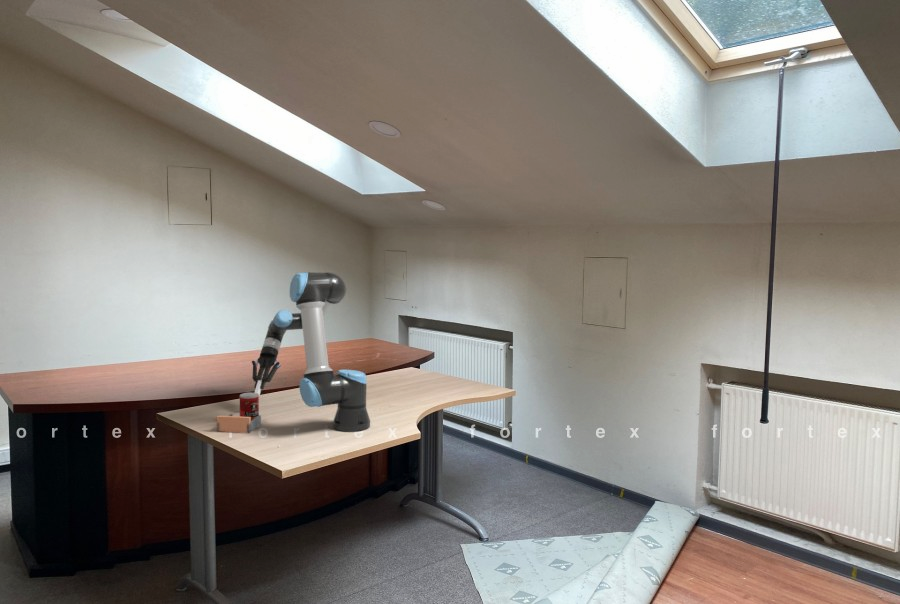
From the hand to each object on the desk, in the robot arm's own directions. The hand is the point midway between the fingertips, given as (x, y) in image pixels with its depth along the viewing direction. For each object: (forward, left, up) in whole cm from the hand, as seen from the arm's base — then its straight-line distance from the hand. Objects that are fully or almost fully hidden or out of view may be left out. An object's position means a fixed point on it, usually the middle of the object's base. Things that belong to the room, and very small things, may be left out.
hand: (256, 394), depth 268 cm
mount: (-1, +20, -9) cm, 21 cm away
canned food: (0, +10, -9) cm, 13 cm away
